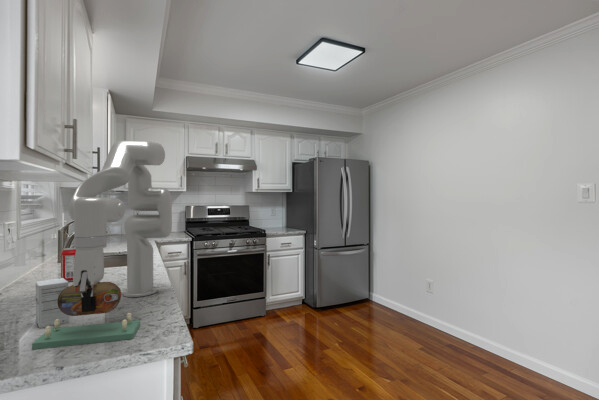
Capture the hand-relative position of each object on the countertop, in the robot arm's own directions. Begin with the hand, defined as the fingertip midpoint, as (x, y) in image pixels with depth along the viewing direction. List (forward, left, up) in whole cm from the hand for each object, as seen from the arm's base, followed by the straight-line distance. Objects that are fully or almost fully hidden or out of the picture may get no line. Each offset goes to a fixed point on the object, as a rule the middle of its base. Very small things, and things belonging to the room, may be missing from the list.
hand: (90, 308), depth 90 cm
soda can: (-73, -30, -8) cm, 79 cm away
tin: (0, 0, -1) cm, 1 cm away
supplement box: (-15, -15, -8) cm, 23 cm away
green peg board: (0, 0, -8) cm, 8 cm away
